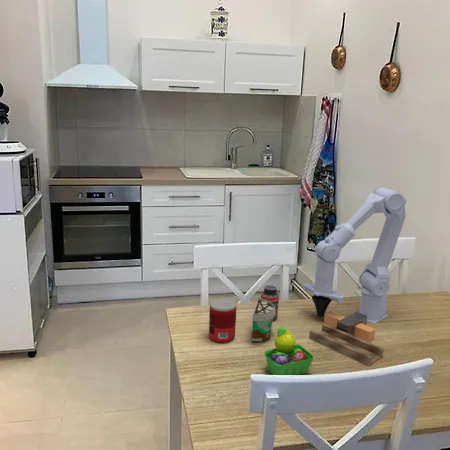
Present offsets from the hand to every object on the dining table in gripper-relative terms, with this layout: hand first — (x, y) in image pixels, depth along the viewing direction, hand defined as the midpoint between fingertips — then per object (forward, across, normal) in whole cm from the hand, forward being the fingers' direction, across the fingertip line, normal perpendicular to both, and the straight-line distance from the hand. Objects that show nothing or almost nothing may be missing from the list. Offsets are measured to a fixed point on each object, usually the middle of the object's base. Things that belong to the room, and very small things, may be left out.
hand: (320, 316), depth 153 cm
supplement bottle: (+2, -11, -13) cm, 17 cm away
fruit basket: (+2, +12, -32) cm, 34 cm away
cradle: (+1, +16, -10) cm, 19 cm away
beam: (+1, +12, 0) cm, 12 cm away
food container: (+2, -4, -23) cm, 23 cm away
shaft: (+1, +11, 0) cm, 11 cm away
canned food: (+2, -12, -33) cm, 35 cm away
